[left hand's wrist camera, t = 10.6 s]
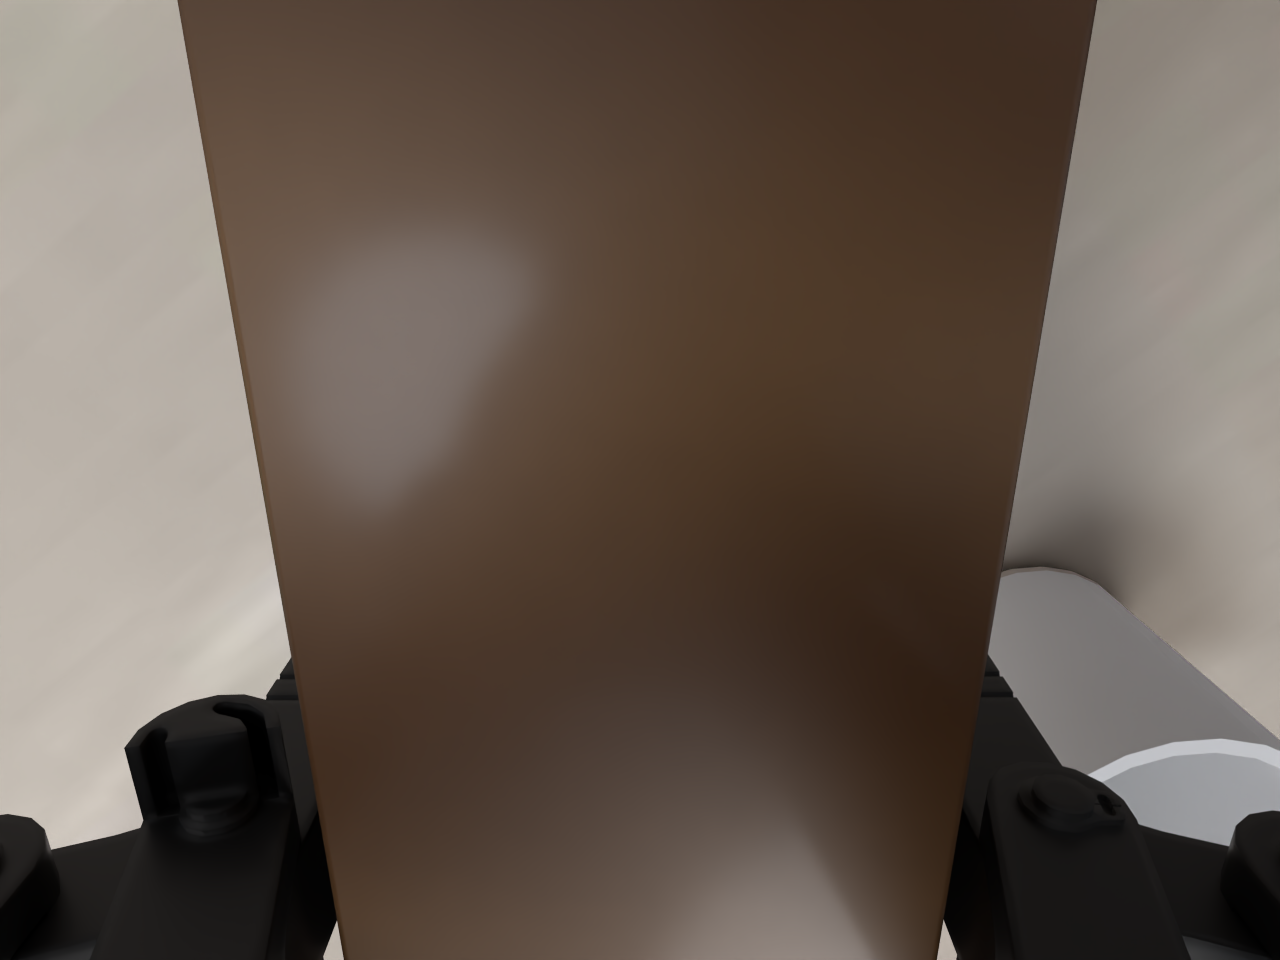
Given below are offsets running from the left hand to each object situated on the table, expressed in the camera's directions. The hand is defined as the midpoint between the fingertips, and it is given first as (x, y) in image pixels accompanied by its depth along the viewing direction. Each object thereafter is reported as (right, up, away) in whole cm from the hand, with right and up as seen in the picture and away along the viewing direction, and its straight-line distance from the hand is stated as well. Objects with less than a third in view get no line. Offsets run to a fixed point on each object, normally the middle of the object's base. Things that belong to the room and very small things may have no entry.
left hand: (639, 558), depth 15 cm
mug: (+15, -5, +18) cm, 25 cm away
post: (0, +23, -8) cm, 25 cm away
